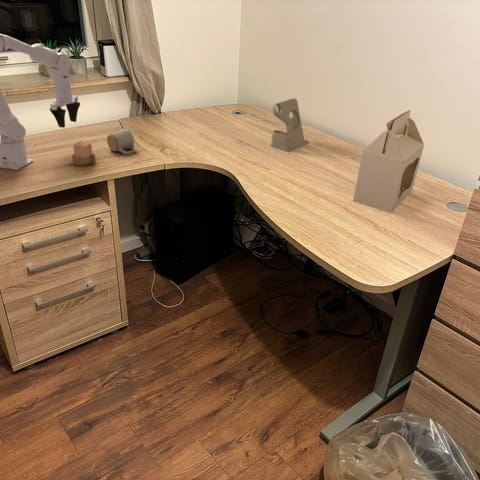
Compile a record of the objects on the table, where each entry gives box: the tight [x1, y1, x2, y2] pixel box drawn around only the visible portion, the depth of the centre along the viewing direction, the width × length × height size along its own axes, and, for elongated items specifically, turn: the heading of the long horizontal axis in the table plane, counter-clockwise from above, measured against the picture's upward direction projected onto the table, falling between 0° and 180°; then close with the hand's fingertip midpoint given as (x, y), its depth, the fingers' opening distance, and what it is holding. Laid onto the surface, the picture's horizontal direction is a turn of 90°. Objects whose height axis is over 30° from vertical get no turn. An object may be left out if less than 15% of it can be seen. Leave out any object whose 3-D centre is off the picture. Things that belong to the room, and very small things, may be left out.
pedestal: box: [71, 152, 96, 168], centre depth 172 cm, size 8×8×3 cm
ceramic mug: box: [106, 128, 135, 155], centre depth 183 cm, size 11×8×8 cm
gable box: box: [352, 110, 425, 213], centre depth 154 cm, size 22×13×28 cm, turn 145°
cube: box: [73, 141, 93, 159], centre depth 170 cm, size 4×4×4 cm
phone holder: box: [270, 97, 310, 153], centre depth 197 cm, size 17×10×18 cm, turn 141°
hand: (67, 124), depth 178 cm, fingers open, 7 cm apart
